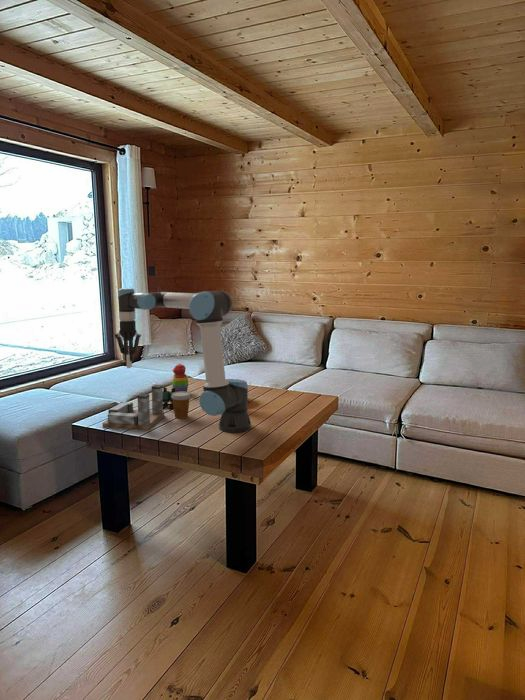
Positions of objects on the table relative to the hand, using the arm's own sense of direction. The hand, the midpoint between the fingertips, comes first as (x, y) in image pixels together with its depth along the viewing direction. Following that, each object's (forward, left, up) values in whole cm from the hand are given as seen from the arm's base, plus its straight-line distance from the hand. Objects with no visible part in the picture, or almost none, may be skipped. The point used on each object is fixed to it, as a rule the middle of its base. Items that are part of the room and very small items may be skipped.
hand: (129, 367), depth 240 cm
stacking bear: (+22, -38, -25) cm, 50 cm away
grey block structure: (-10, +2, -25) cm, 27 cm away
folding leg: (+2, +2, -21) cm, 21 cm away
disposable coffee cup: (-16, -20, -25) cm, 36 cm away
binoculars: (+1, -21, -25) cm, 33 cm away
